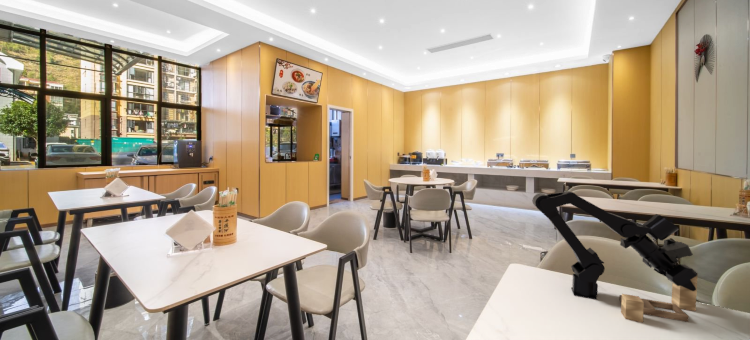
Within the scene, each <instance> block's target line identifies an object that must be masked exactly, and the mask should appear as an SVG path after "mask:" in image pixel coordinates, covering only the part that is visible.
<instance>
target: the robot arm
mask: <svg viewBox="0 0 750 340" xmlns="http://www.w3.org/2000/svg"><path fill="white" fill-rule="evenodd" d="M532 204H533V206H534V207H536V208H537V210H538V211H540V212H541V213H542V215H544V216H545V217H546V218H547V220H548V221H550V222H551V224H552V226H553V227H554V228H555V229H556V230H557V232H558V233H559V234H560V236H561V237H562V238H563V240H564V241H565V243H566V244H567V245H568V247H570V249H571V250H572V252H573V254H574V257H575V258H576V260H577V261H576V262H575V263H574V264H572V265H571V266H570V267H571V270H572V272H573V273H572V287H571V291H572V295H573V296H575V297H580V298H587V299H592V300H597V299H598V298H597V297H598V289H599V288H598V287H599V285H598V283H597V282H598V280H599V278H600V277H601V276H602V275H603V274H604V273H605V266H604V264H605V262H604V261H603V260H602V259H601V258H600V257H599V254H598V252H596V251H595V250H593V248H591V247H589V248H586V247H585V246H584V245H583V243H582V242H581V240H580V239H579V238H578V237H577V235H576V234H575V233H574V232H573V230H572V229H571V228H570V226H569V225H568V224H567V222H566V221H565V219H563V217H562V216H561V214H560V212H559V209H558V208H559V207H563V206H564V205H565V206H566V205H572V206H574V207H575V208H577V209H579V210H581V211H582V212H585V213H586V214H588V215H590V216H592V217H593V218H594V219H597V220H598V221H600V222H601V223H602V224H604V225H605V226H606V227H607V228H608V229H610V230H611V231H613V233H616V234H617V235H619V236H621V237H622V238H620V243H619V245H620V246H621V247H623V248H624V249H627V248H629V247H631V248H632V249H633V250H634V251H635V252H636V253H637V254H638V255H639V256H640V258H642V262H643V263H644V265H646V266H647V267H649V268H653V271H655V272H656V273H658V274H660V275H662V276H663V277H665V278H667V280H668V281H670V282H671V283H672V282H673V283H674V284H676V285H677V286H683V287H685V288H687V289H689V290H692V291H695V290H696V288H695V286H694V285H693V283H692V282H691V279H692V278H694V277H696V276H697V274H699V273H698V272H697V271H696V270H694V269H693V268H692V267H690V266H688V265H686V264H681V263H680V264H676V263H678V262H679V259H682V258H685V257H692V256H694V254H693V252H692V250H691V248H690V246H689V244H687V243H684V242H682V241H674V240H672V239H670V238H668V237H670V236H671V235H674V234H675V233H676V232H677V231H679V227H678V226H677V225H676V224H674V223H673V222H672V221H669V220H668V219H666V218H665V217H663V216H662V215H660V214H657V213H655V214H654V215H652V217H650V219H648V220H647V221H645V222H644V223H639V222H635V221H632V220H629V219H627V218H625V217H623V216H620V215H617V214H614V213H611V212H608V211H606V210H604V209H603V208H601V207H599V206H597V205H595V204H593V203H592V202H590V201H588V200H586V199H584V198H583V197H580V196H579V195H578V194H576V193H575V192H573V191H570V190H565V191H562V192H555V193H553V192H552V193H547V194H545V193H542V192H541V193H536V194H535V195H534V196H533V197H532ZM652 239H653V240H652ZM657 240H659V241H662V242H663V246H660V245H658V244H657V243H656V242H654V241H657ZM673 267H674V268H673ZM697 277H698V276H697Z"/></svg>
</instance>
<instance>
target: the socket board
mask: <svg viewBox="0 0 750 340" xmlns="http://www.w3.org/2000/svg"><path fill="white" fill-rule="evenodd" d="M640 299H641V300H642V301H643V302H644V307H643V315H648V316H649V315H650V316H655V317H660V318H666V319H671V320H675V321H676V320H677V321H682V322H689V315H687V314H686V313H685V312H684V311H683V309H680V308H679V307H678V306H677V305H676V304H673V303H671V302H665V301H659V300H653V299H648V298H647V299H646V298H641V297H640ZM619 302H621V303H622V294H619ZM656 308H660V309H656ZM661 309H662V310H661ZM663 309H666V310H672V312H671V311H666V310H663Z"/></svg>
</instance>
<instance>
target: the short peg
mask: <svg viewBox="0 0 750 340" xmlns="http://www.w3.org/2000/svg"><path fill="white" fill-rule="evenodd" d="M621 295H622V303H621V307H620V312H621V315H622V316H623V319H625V320H629V321H633V322H639V323H643V322H644V314H643V307H644V302H643V301H642V300H641V299H640V298H641V297H640V296H637V295H633V294H632V295H631V294H626V293H621Z"/></svg>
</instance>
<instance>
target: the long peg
mask: <svg viewBox="0 0 750 340" xmlns="http://www.w3.org/2000/svg"><path fill="white" fill-rule="evenodd" d="M673 268H674V267H673ZM698 274H699V273H698ZM698 274H697V276H696V277H694V278H692V279H691V282H692V283H693V285H694V286H695V288H696V290H695V291H692V290H689V289H687V288H685V287H683V286H677V285H676V284H674V283H673V282H671V283H672V285H671V286H672V288H671V302H670V303H672V304H676V305H677V306H678V307H679V308H680V309H681V310H687V311H692V312H693V311H695V312H696V311H697V310H696V309H697V308H696V307H697V292H698V291H697V290H698Z"/></svg>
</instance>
